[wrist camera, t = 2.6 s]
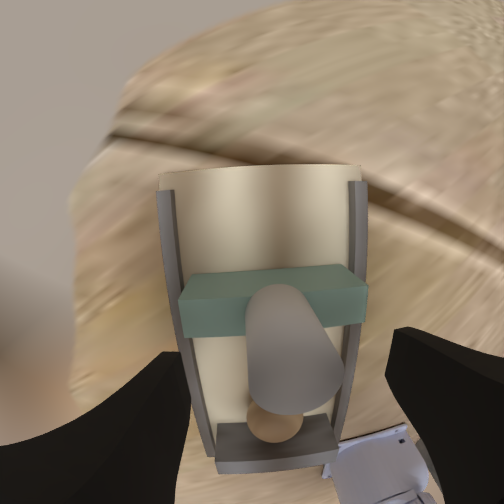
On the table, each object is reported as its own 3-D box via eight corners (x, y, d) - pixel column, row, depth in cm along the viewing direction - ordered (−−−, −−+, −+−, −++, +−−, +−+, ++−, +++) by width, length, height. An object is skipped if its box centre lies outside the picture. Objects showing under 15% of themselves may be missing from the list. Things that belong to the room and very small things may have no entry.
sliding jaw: (341, 255, 16) (429, 320, 7) (339, 301, 17) (410, 388, 8) (190, 266, 16) (141, 349, 7) (196, 312, 17) (164, 418, 8)
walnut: (299, 376, 18) (310, 414, 14) (297, 412, 19) (306, 448, 15) (243, 381, 18) (245, 421, 14) (247, 417, 19) (249, 454, 15)
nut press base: (351, 166, 17) (396, 159, 11) (331, 431, 22) (346, 474, 16) (165, 175, 16) (131, 169, 11) (209, 443, 22) (205, 488, 16)
